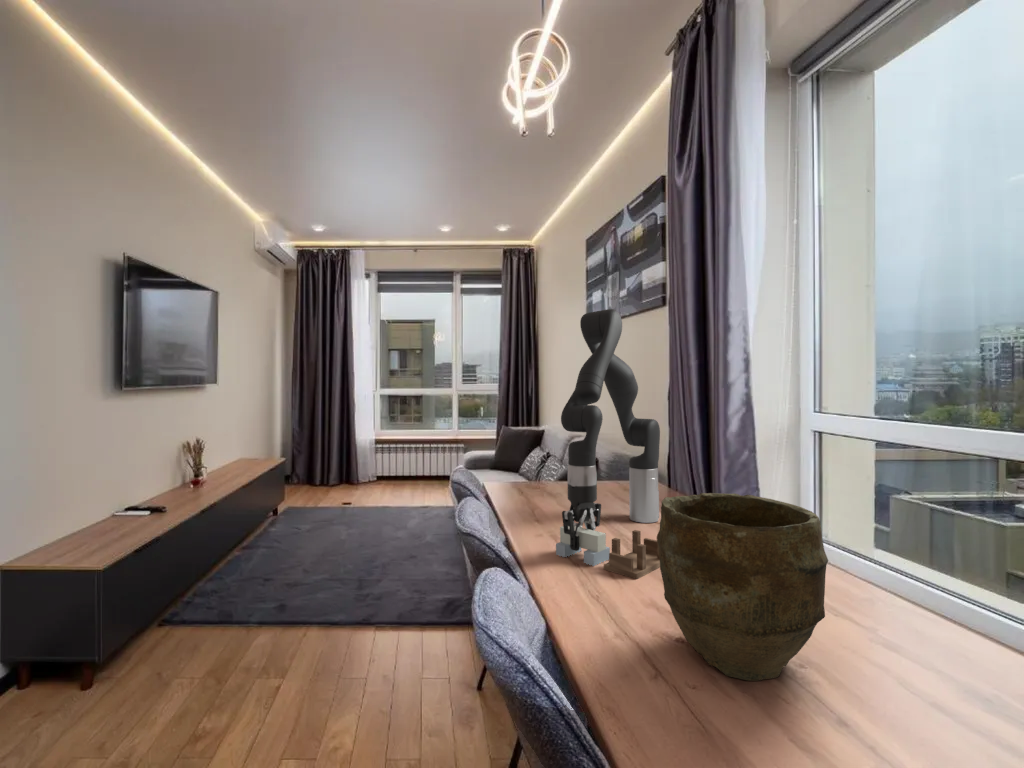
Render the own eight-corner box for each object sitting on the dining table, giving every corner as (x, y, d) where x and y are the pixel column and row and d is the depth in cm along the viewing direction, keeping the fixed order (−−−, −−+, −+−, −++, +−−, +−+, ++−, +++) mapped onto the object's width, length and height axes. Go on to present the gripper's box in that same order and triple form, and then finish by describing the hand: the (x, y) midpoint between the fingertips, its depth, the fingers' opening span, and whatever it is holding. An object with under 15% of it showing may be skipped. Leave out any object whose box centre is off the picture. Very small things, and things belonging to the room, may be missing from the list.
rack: (640, 552, 136) (640, 527, 136) (672, 560, 129) (672, 534, 129) (603, 569, 123) (603, 541, 123) (636, 579, 117) (636, 549, 117)
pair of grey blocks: (572, 548, 139) (572, 537, 139) (609, 559, 131) (609, 547, 131) (556, 555, 134) (555, 543, 134) (593, 566, 126) (593, 554, 126)
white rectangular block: (568, 539, 138) (568, 524, 138) (605, 549, 129) (605, 533, 129) (560, 542, 135) (560, 527, 135) (597, 552, 127) (597, 536, 127)
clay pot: (802, 630, 92) (802, 492, 92) (856, 719, 68) (854, 531, 68) (656, 614, 99) (656, 485, 99) (657, 689, 75) (656, 519, 75)
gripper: (586, 476, 140) (587, 538, 140) (553, 484, 130) (553, 550, 130) (610, 480, 135) (610, 544, 135) (576, 488, 125) (577, 557, 124)
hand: (582, 546), depth 132 cm, fingers open, 5 cm apart
